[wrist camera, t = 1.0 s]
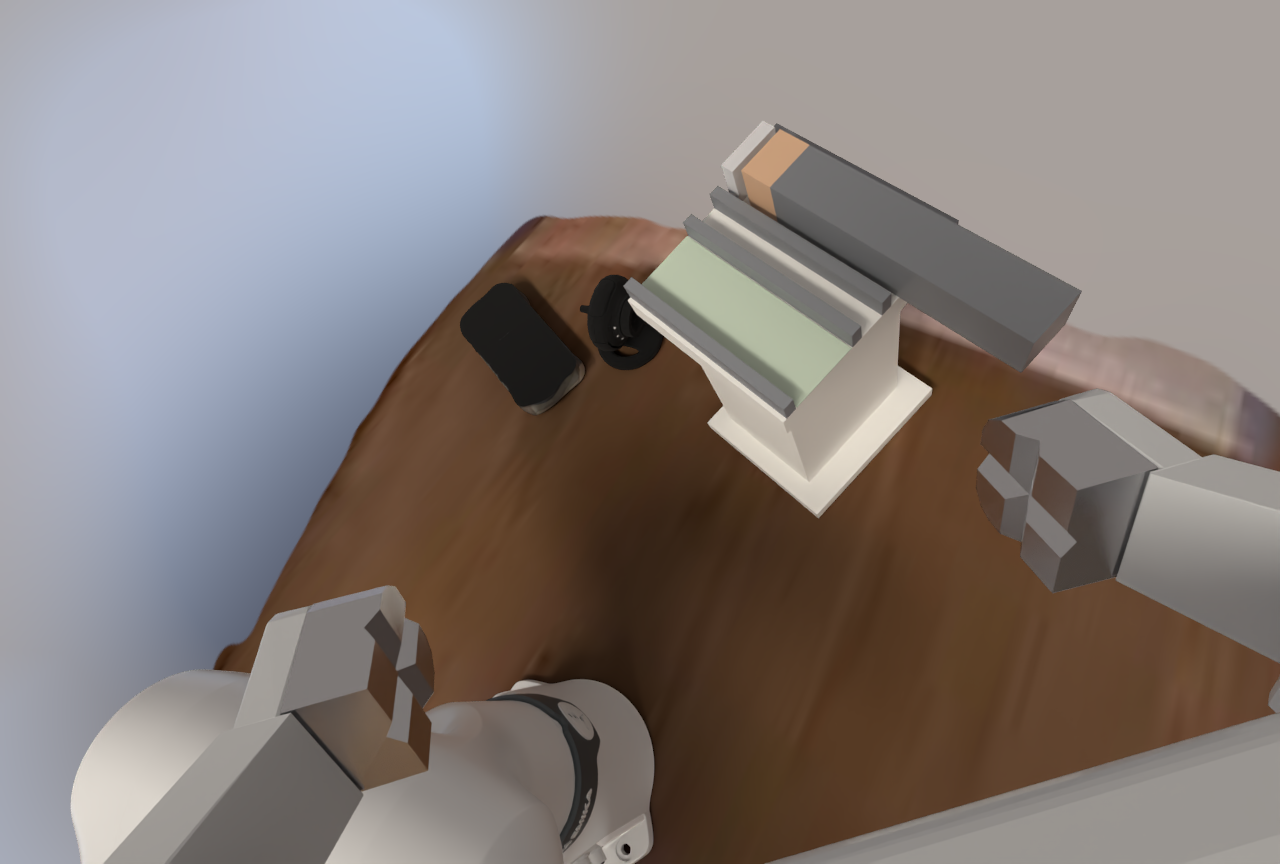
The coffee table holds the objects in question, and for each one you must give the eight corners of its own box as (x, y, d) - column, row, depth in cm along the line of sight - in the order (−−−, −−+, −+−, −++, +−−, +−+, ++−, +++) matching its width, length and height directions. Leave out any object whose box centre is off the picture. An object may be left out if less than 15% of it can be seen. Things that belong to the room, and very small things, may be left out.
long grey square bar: (1021, 372, 38) (1034, 343, 35) (750, 205, 47) (741, 170, 44) (1064, 324, 38) (1081, 291, 35) (786, 167, 47) (779, 129, 44)
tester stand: (818, 518, 65) (776, 402, 38) (710, 427, 71) (611, 275, 45) (931, 394, 65) (965, 198, 39) (814, 315, 71) (776, 100, 45)
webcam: (651, 378, 75) (620, 336, 66) (590, 366, 78) (552, 324, 69) (673, 314, 77) (646, 264, 68) (613, 304, 80) (579, 255, 71)
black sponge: (468, 337, 85) (451, 323, 82) (520, 290, 85) (506, 274, 81) (539, 427, 78) (524, 416, 74) (596, 376, 77) (583, 363, 74)
